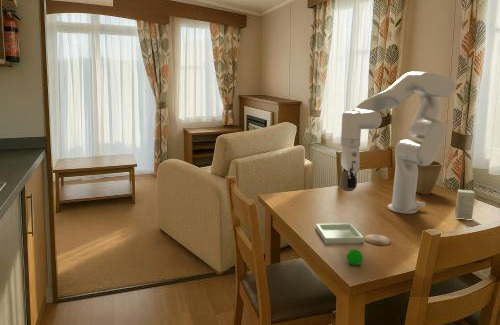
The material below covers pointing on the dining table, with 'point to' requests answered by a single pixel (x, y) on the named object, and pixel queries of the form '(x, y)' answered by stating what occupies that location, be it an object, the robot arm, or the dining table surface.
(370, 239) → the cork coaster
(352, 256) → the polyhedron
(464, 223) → the dining table surface
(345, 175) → the vase
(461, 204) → the skincare box
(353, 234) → the tray
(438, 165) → the plant pot
